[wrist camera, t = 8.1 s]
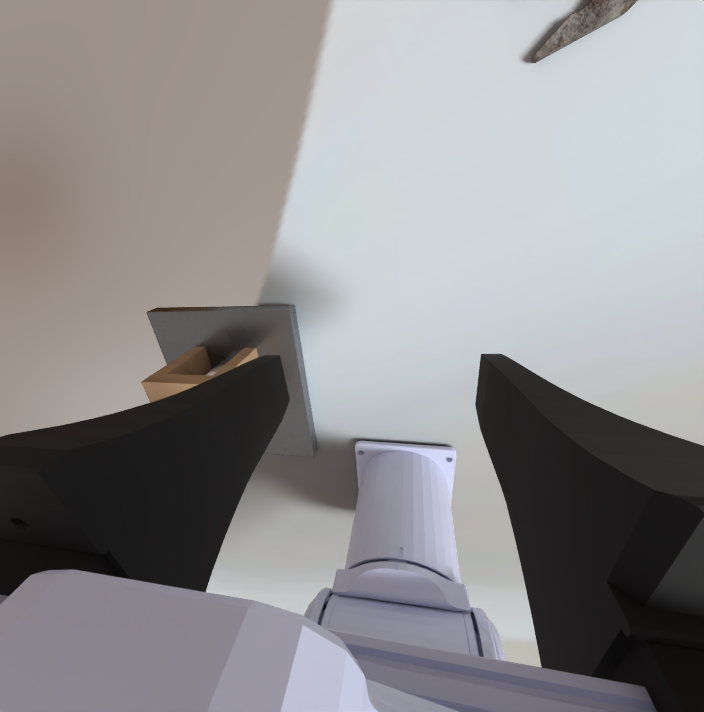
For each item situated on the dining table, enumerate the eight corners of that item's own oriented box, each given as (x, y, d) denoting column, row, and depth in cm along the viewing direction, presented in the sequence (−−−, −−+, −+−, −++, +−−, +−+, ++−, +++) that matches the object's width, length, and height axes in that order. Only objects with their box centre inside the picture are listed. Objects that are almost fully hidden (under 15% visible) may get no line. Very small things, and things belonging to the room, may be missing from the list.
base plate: (317, 448, 26) (304, 481, 23) (206, 440, 28) (181, 468, 25) (294, 305, 20) (273, 323, 17) (156, 307, 22) (116, 324, 19)
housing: (274, 425, 24) (244, 473, 20) (219, 421, 25) (179, 466, 21) (256, 347, 21) (215, 384, 17) (194, 346, 22) (141, 381, 18)
